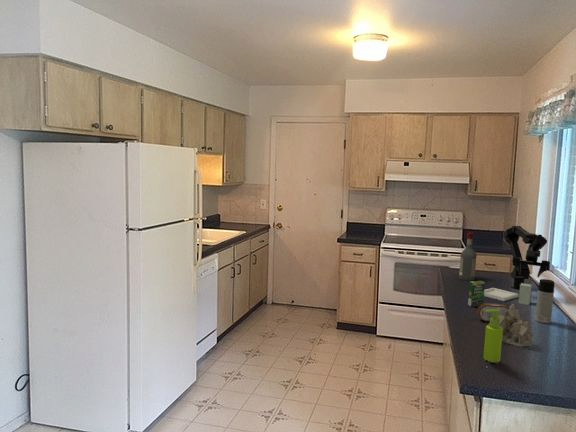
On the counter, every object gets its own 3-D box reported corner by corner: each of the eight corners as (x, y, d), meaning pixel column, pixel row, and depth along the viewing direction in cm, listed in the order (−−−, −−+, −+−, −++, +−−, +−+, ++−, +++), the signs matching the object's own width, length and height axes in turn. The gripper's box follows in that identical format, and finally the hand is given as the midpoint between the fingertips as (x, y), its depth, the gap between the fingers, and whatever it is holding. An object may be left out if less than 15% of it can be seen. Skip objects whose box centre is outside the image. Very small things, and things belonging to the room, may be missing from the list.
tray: (492, 290, 285) (493, 287, 284) (518, 297, 273) (518, 293, 272) (478, 294, 276) (478, 291, 275) (503, 301, 263) (504, 297, 263)
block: (519, 300, 266) (521, 283, 264) (529, 302, 263) (531, 284, 262) (518, 303, 261) (520, 285, 260) (528, 304, 259) (530, 286, 258)
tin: (508, 321, 230) (510, 304, 229) (511, 323, 227) (512, 306, 226) (476, 319, 232) (477, 302, 231) (478, 321, 229) (479, 304, 228)
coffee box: (470, 307, 251) (472, 282, 249) (467, 305, 254) (468, 281, 252) (483, 306, 253) (485, 281, 252) (479, 304, 256) (481, 280, 255)
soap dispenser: (477, 357, 185) (482, 307, 183) (495, 357, 186) (499, 307, 184) (485, 364, 180) (489, 312, 177) (503, 364, 180) (507, 312, 178)
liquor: (474, 278, 314) (478, 232, 311) (473, 281, 306) (477, 234, 303) (459, 276, 318) (463, 231, 315) (458, 279, 310) (462, 233, 306)
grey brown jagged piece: (482, 332, 213) (487, 300, 211) (519, 335, 213) (524, 303, 210) (495, 348, 198) (501, 313, 195) (536, 351, 198) (542, 316, 195)
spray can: (549, 320, 234) (553, 279, 232) (552, 324, 228) (556, 283, 225) (534, 318, 236) (538, 278, 234) (536, 322, 230) (540, 281, 227)
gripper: (514, 242, 275) (509, 264, 267) (551, 246, 265) (547, 270, 257) (515, 254, 282) (510, 276, 274) (551, 258, 272) (547, 281, 264)
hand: (528, 275), depth 267 cm, fingers open, 9 cm apart
